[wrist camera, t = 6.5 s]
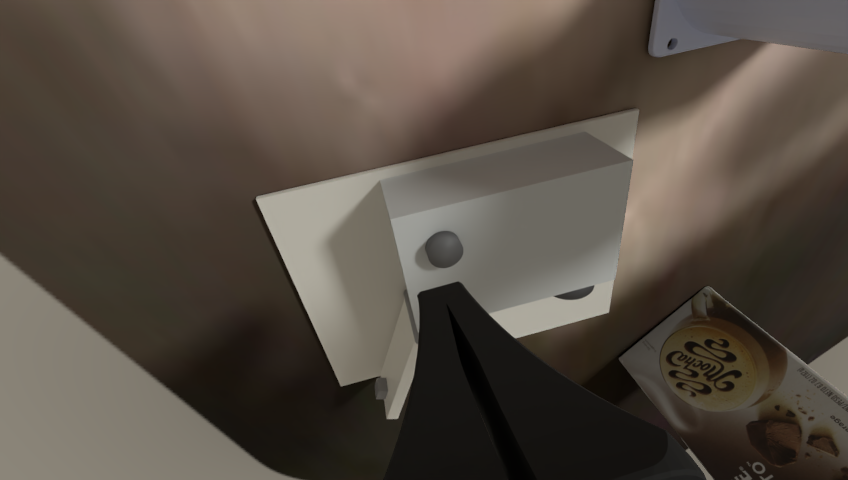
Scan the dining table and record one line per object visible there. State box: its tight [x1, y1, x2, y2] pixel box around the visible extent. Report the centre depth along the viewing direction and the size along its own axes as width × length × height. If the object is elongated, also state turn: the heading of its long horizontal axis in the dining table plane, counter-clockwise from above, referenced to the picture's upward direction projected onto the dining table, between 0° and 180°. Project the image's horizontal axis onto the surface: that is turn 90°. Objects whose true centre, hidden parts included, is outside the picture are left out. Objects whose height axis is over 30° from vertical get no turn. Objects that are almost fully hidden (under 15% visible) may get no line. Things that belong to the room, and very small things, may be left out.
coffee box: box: [619, 286, 848, 480], centre depth 27 cm, size 9×6×16 cm
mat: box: [256, 108, 639, 386], centre depth 24 cm, size 20×15×1 cm
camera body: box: [380, 132, 633, 332], centre depth 21 cm, size 11×8×5 cm
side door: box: [375, 289, 419, 419], centre depth 24 cm, size 8×1×4 cm, turn 164°
